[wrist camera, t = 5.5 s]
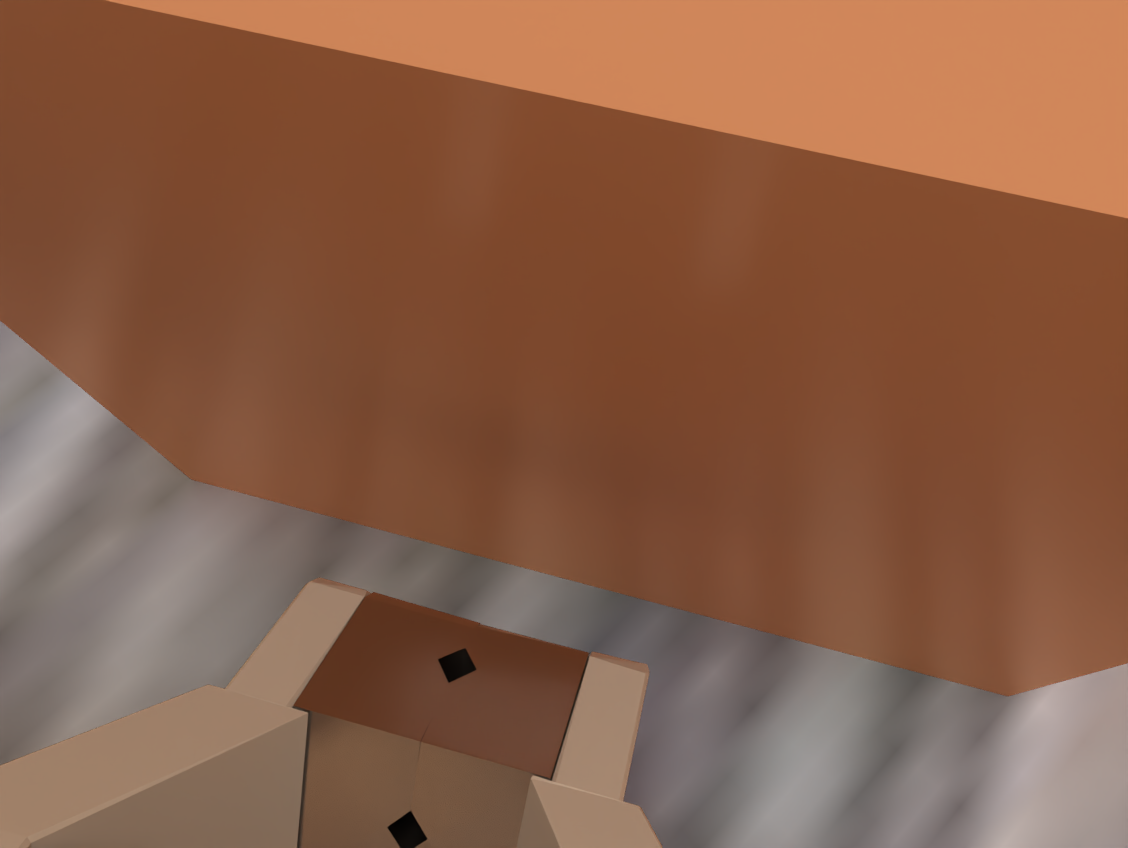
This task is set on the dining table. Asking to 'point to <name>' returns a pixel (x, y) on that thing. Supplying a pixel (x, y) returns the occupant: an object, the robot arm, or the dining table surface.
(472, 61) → the tile
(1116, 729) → the dining table surface
